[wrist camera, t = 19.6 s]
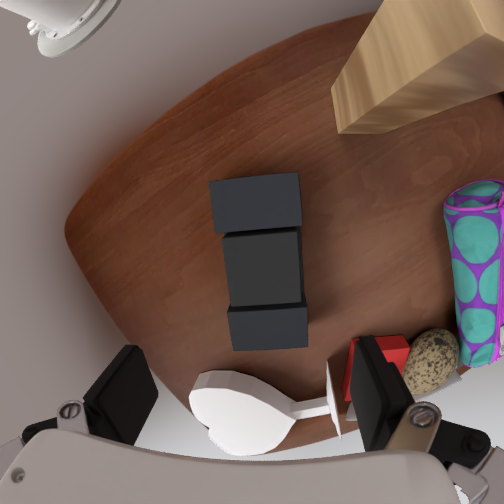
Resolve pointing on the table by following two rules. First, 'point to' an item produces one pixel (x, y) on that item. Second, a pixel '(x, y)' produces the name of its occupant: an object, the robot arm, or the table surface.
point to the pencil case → (478, 268)
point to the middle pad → (262, 266)
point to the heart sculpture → (251, 411)
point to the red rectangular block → (392, 350)
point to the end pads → (252, 218)
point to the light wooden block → (420, 63)
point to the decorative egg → (430, 361)
